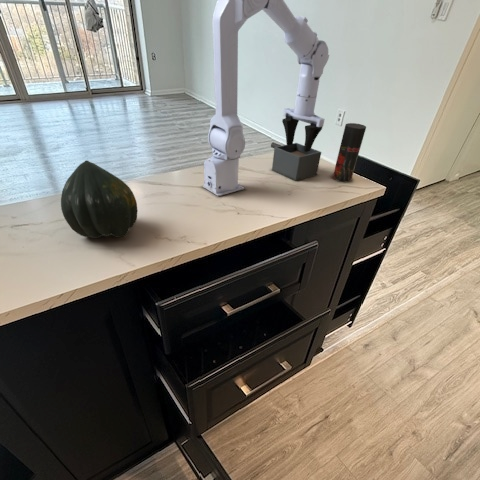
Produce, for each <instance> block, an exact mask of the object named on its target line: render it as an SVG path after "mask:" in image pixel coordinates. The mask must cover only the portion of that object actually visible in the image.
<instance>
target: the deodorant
mask: <svg viewBox="0 0 480 480" xmlns="http://www.w3.org/2000/svg"><path fill="white" fill-rule="evenodd" d="M366 131H367V126H366V125H364V124H360V123H357V122H356V123H355V122H349V123H345V126H344V129H343V132H342V133H343V134H342V138H341V141H340V146H339V150H338V154H337V157H336V162H335V165H334V169H333V174H332V179H333V180H335V181H338V182H342V183H347V182H351V181H352V178H353V175H354V172H355V168H356V165H357V161H358V157H359V154H360V149H361V148H362V144H363V140H364V136H365V133H366Z"/></svg>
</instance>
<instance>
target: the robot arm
mask: <svg viewBox="0 0 480 480" xmlns="http://www.w3.org/2000/svg"><path fill="white" fill-rule="evenodd" d="M261 11H263V12H264V13H265V15H267V16H268V17H269V18H270V19H271V20H272V21H273V22H274V23H275V24H276V26H277V27H279V28H280V30H282V31H283V40H284V42H285V44H286V45H287V46H288V47H289V48H290V49H291V51H293V53H294V54H295V55H296V59H297V63H298V65H300V68H299V75H298V83H297V89H296V96H295V102H294V103H295V104H294V109H293V108H287V107H286V108H284V109H283V115H282V116H283V117H284V118H282V121H281V122H282V124H283V128H284V131H285V141H286V142H285V143H286V145H291V144H293V143H294V141H295V135H296V130H297V127H298V124H299V122H303V123H306V124H308V125H304V131H305V132H304V133H305V134H304V136H305V137H304V152H308V151H310V150H311V148H312V147H313V145H314V143H315V141H316V138H317V137H318V136H319V134H320V133H321V131H322V130H323V127H324V125H325V118H324V117H321V116H319V115H316V114H315V109H316V108H315V107H316V104H317V103H316V102H317V96H318V92H319V86H320V80H321V77H322V75H323V74H324V69H325V67H326V65H327V63H328V61H329V59H330V54H329V47H328V45H327V42H326V41H324V40H321V39H319V38H318V34H317V32H316V31H313V29H312V28H311V26H310V25H309V24H308V22H309V20H308V18H307V17H306V16H301V15H297V16H294V13H293V12H292V11H291V9H290V8H289V7H288V5H287V3H286V2H285V0H216V3H215V7H214V10H213V15H212V40H213V41H212V43H213V73H214V74H213V75H214V77H213V78H214V101H215V103H214V105H215V114H214V115H213V116H212V117H211V118H210V120H209V130H208V134H207V141H208V144H209V146H210V148H211V152H212V155H211V156H210V157H209V158H206V159H205V160H204V163H203V183H204V184H203V185H202V187H203V188H204V189H206V190H208V191H209V192H211V193H212V194H214V195H216V196H217V197H221V196H224V195H228V194H232V193H235V192H238V191H242V190H244V189H245V187H244V186H242V185H241V184H239V167H240V158H241V155H242V154H244V153H243V152H244V150H245V149H246V138H245V136H244V132H243V129H244V127H243V124H242V121H241V119H240V117H239V115H238V92H239V91H238V90H239V89H238V86H239V85H238V79H239V77H238V75H239V74H238V73H239V72H238V71H239V31H240V29H241V28H242V27H243V26H244V24H246V22H247V21H248V19H250V18H252V17H253V16H255V15H256V14H258V13H259V12H261Z"/></svg>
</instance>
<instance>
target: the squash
mask: <svg viewBox="0 0 480 480" xmlns="http://www.w3.org/2000/svg"><path fill="white" fill-rule="evenodd" d="M137 202H138V201H137V199H136V197H135V194H134V192H133V191H132V189H131V188H130V186H129V185H128V184H127V183H125V182H124V180H122V179H120V178H119V177H118V176H116V175H114V174H112V173H111V172H109V171H107V170H106V169H105V168H102V167H101V166H99V165H98V164H96V163H94V162H91V161H89V160H88V159H87V160H84V161H83V162H82V163H80V164H79V165H78V166H77V167H76V168H75V169H74V171H73V172H72V173H71V174H70V175H69V177H68V178H67V179H66V181H65V183H64V185H63V188H62V191H61V197H60V208H61V209H60V210H61V213H62V216H63V217H64V220H65V222H66V224H68V226H69V227H70V228H71V230H72V231H74V232H75V233H76V234H78V235H79V236H81V237H84V238H93V239H98V238H100V237H102V236H103V237H109V236H110V235H112V236H114V237H116V238H122V237H124V236H126V235H127V234H128V233H129V230H130V229H131V228H133V227H134V225H136V222H137V220H138V219H137V217H138V212H139V211H138V203H137Z"/></svg>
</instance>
